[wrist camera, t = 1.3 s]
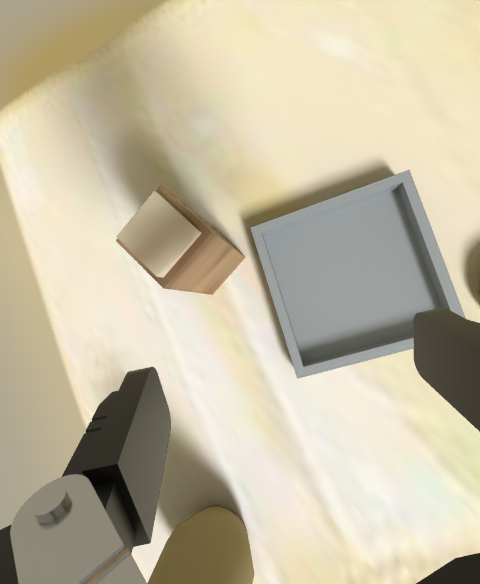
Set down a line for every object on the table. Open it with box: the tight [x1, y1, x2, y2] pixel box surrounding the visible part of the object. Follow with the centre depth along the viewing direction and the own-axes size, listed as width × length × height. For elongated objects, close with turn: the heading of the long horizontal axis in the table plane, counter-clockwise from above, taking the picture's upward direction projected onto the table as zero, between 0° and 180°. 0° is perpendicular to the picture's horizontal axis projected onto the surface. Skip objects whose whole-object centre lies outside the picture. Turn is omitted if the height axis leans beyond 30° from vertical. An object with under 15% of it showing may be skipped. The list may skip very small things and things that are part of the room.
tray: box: [250, 170, 466, 379], centre depth 28 cm, size 14×14×2 cm
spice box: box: [116, 186, 245, 295], centre depth 27 cm, size 5×5×12 cm
